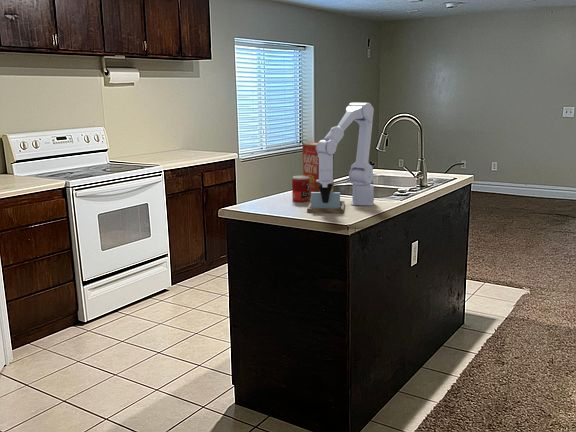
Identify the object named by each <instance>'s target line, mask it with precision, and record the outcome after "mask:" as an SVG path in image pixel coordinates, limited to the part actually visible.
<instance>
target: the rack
mask: <svg viewBox="0 0 576 432" xmlns="http://www.w3.org/2000/svg"><path fill="white" fill-rule="evenodd" d="M344 211H345V200H340V209H334V208H311V200H309V203H308V206H307V208H306V213H313V214H314V213H316V214H317V213H318V214H319V213H320V214H322V213H324V214H344Z"/></svg>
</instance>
